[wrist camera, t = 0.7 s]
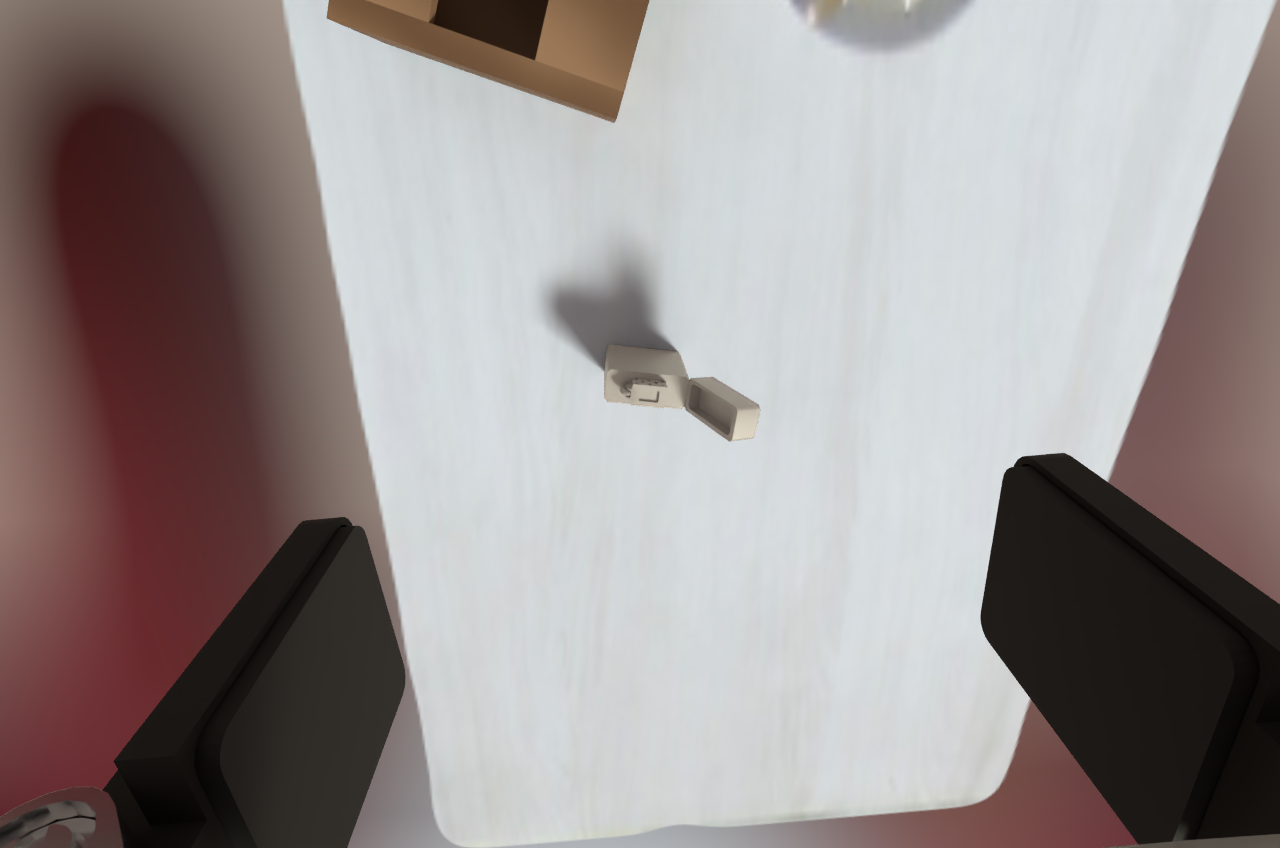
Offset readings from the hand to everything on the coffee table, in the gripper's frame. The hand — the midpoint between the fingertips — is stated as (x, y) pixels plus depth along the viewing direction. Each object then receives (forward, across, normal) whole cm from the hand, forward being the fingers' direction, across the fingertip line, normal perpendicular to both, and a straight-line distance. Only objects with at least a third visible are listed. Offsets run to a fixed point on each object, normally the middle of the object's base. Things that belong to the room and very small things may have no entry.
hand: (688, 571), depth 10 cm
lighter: (+28, -2, +6) cm, 28 cm away
